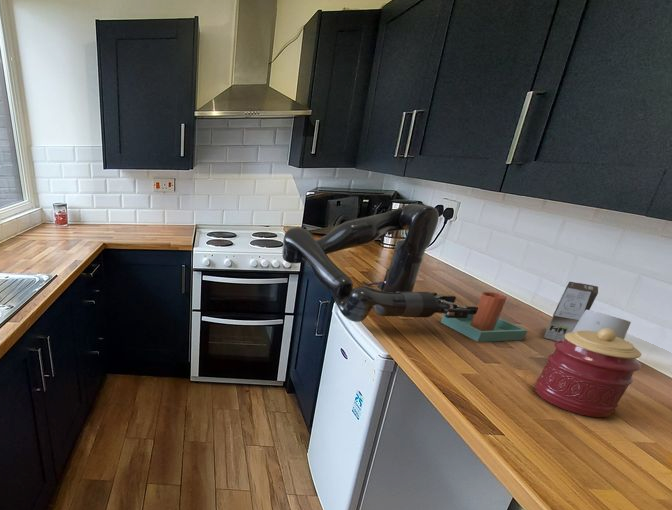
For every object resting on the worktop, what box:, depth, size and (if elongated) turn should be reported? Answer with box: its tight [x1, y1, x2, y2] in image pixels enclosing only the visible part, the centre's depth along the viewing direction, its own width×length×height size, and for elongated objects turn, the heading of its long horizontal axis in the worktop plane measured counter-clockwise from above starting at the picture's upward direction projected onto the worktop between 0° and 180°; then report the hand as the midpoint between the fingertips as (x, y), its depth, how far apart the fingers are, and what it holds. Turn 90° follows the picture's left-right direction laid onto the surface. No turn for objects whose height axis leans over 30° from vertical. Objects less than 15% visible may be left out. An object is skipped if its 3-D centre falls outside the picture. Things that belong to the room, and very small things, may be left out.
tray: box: [440, 313, 528, 343], centre depth 122 cm, size 14×16×3 cm
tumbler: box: [470, 291, 508, 331], centre depth 120 cm, size 6×6×11 cm
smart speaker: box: [572, 309, 632, 340], centre depth 104 cm, size 10×9×14 cm
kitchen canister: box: [534, 328, 642, 418], centre depth 85 cm, size 13×13×18 cm
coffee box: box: [543, 281, 599, 342], centre depth 117 cm, size 9×6×16 cm
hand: (465, 304), depth 118 cm, fingers open, 8 cm apart
